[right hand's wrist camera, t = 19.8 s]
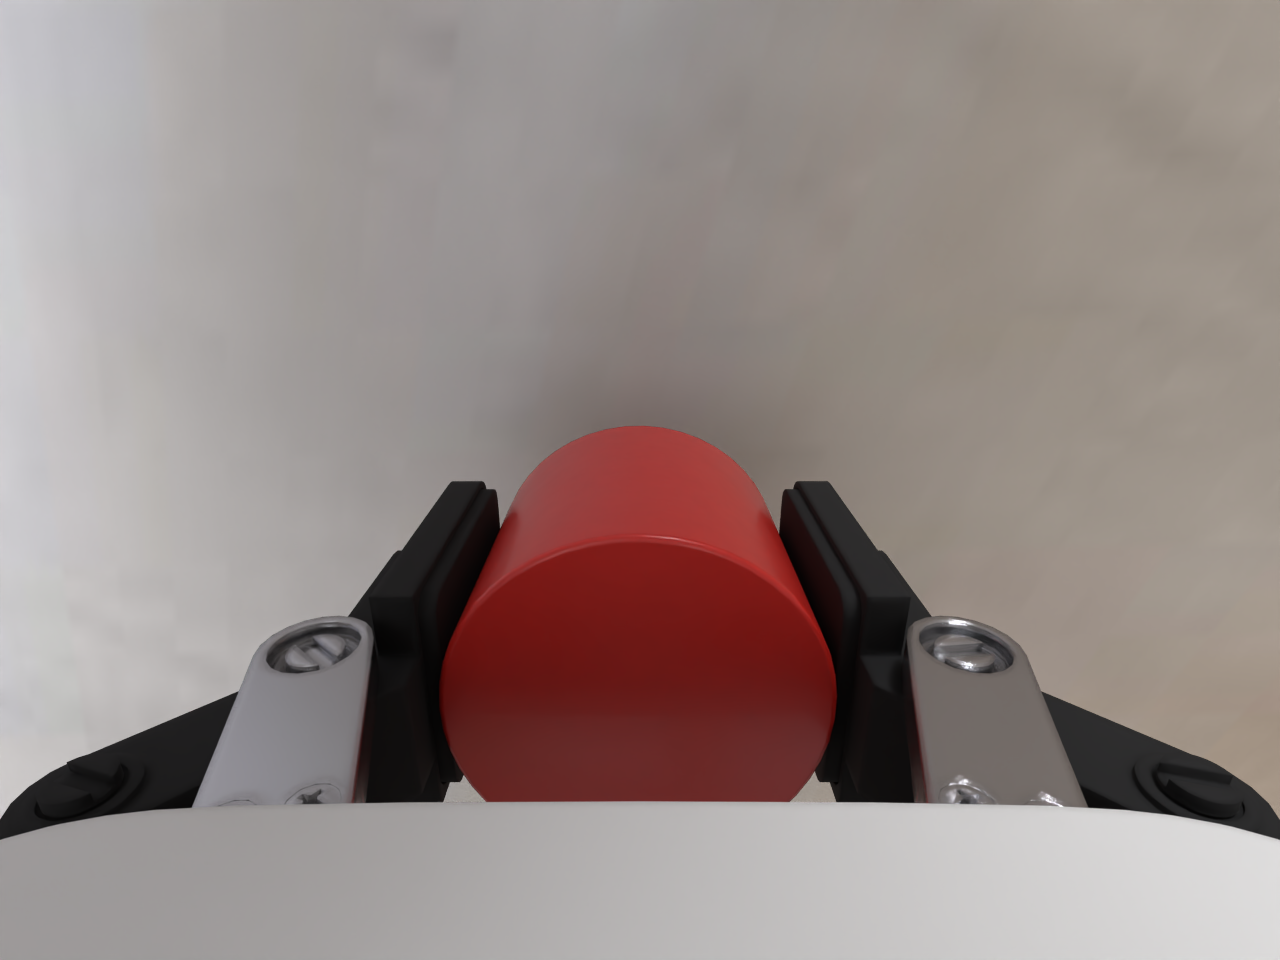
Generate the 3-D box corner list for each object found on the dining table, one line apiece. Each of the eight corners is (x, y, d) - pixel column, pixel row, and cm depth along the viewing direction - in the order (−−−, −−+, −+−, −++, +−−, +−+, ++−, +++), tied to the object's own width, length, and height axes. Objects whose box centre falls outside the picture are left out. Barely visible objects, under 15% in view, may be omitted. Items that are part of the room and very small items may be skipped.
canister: (450, 502, 12) (354, 645, 8) (700, 373, 11) (734, 461, 7) (587, 702, 14) (565, 906, 10) (815, 602, 13) (896, 781, 9)
